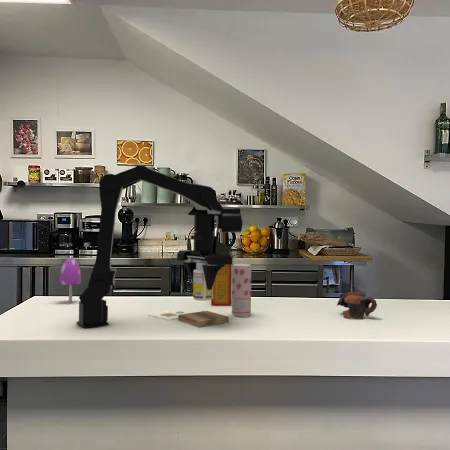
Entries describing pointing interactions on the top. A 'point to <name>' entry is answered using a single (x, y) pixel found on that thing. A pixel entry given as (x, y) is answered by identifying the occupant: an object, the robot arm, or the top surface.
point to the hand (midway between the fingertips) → (203, 288)
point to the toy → (70, 275)
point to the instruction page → (170, 314)
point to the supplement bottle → (201, 284)
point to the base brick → (203, 318)
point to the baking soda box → (223, 287)
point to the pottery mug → (356, 305)
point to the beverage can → (241, 290)
